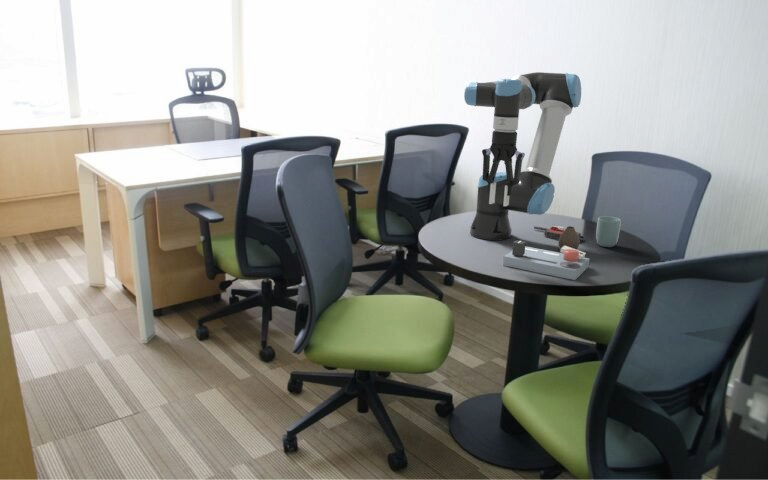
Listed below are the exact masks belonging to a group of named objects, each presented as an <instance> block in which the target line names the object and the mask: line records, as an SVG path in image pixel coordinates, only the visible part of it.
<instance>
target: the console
mask: <svg viewBox="0 0 768 480" xmlns="http://www.w3.org/2000/svg"><path fill="white" fill-rule="evenodd" d="M512 251H513V250H511V251H510V252H508V253H506V254H505V255H504V256H503V259H502V260H503V261H502V266H506V267H509V268H510V267H511V268H515V269H518V270H519V269H520V270H524V271H529V272H533V273H534V272H535V273H537V274H538V273H539V274H544V275H549V276H553V277H557V278H561V279H562V278H563V279H567V280H571V281H572V280H573V281H575V280H576V279H578V278H579V277H580V276H581V275H582V274H583V273H584V272H585V271H586V270H587V269H588V268H589V266H590V265H589V264H590V257H589V258H588V257H586V256H585V257H584V258H583V259H578V261H576V262H570V261H566V260H564V259H563V257H564V253H562V252H558V251H553V250H547V249H541V248H535V247H531V246H526V245H525V254H524V255H522V256H518V255H513V254H512Z"/></svg>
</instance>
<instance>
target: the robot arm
mask: <svg viewBox="0 0 768 480" xmlns="http://www.w3.org/2000/svg"><path fill="white" fill-rule="evenodd" d="M463 97H464V102H465V104H466V105H468V106H472V107H473V106H474V107H483V108H484V107H486V108H494V110H493V111H494V113H493V123H492V129H494V130H492V135H491V136H492V137H491V145H490V147H489V148H485V149H482V150H481V152H482V156H483V164H482V175H480V176H479V179H478V185H477V195H476V196H477V198H476V202H477V203H476V213H475V216H474V219H473V221H472V223H471V226H470V229H469V230H470V232H469V234H470V235H471V236H472V237H475V238H478V239H481V240H482V239H483V240H487V241H488V240H489V241H503V240H507V239H511V237H512V226H511V223H510V219H509V211H511V212H518V213H523V214H528V215H535V216H537V215H538V216H541V215H544V214H545V213H546V212H547V211H548V210H549V208H550V207H551V206H552V203H553V200H554V197H555V195H554V194H555V189H556V188H555V186H554V184H553V183H552V182H553V179H552V177H550V172H551V170H552V166H553V162H554V158H555V156H556V152H557V147H558V146H559V145H558V144H559V142H560V138H561V134H562V130H563V127H564V125H565V124H564V123H565V120H566V118H567V116H569V115H571V113H572V111H573V108H579V106H580V104H581V99H582V83H581V79H580V77H579V75H578V74H575V73H568V72H566V73H558V72H557V73H556V72H542V71H541V72H539V71H538V72H528V73H525V74H520V75H516V76H513V77H512V78H499V79H498V80H497V81H496V80H495V81H487V82H478V81H476V82H469V83H468V84H467V85H466V86H465V88H464V94H463ZM533 105H539V108H540V109H541V114H540V117H539V121H538V123H537V124H538V125H537V128H536V130H535V131H536V132H535V136H534V139H533V142H532V146H531V149H530V151H529V155H528V158H527V163H526V166H525V169H523V170H522V165H523V159H524V158H525V155H526V154H525V152H521V151H519V150H518V148H517V141H518V140H517V139H518V132H517V130H519V118H520V110H525V109H528V108H530V107H531V106H533ZM491 155H493V159H492V164H491V165H490V163H491ZM514 156H515V162H514V163H515V164H514V170H513V157H514ZM501 161H502V162H504V163H503V164H504V165H505V171H503V172H499V171H498V168H499V165H500V162H501ZM490 166H491V168H490ZM513 171H514V172H513Z"/></svg>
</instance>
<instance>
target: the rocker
mask: <svg viewBox="0 0 768 480" xmlns="http://www.w3.org/2000/svg"><path fill="white" fill-rule="evenodd" d="M566 249H573V248H571V247H568V246H563V247H562V248H561V249H559V250H560V251H559V253H563V254H564V250H566ZM573 250H576V249H573ZM577 251H579V257H578V259H583V258H584V257H585V258H586V254H587V253H586V252H584V251H581V250H579V249H577Z"/></svg>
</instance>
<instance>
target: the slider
mask: <svg viewBox="0 0 768 480" xmlns="http://www.w3.org/2000/svg"><path fill="white" fill-rule="evenodd" d="M526 243H527V242H526V241H523V240H514V241H513V243H512V250H511V251H512V254H513V255H518V256H522V255H524V254H525V246H526Z"/></svg>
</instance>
